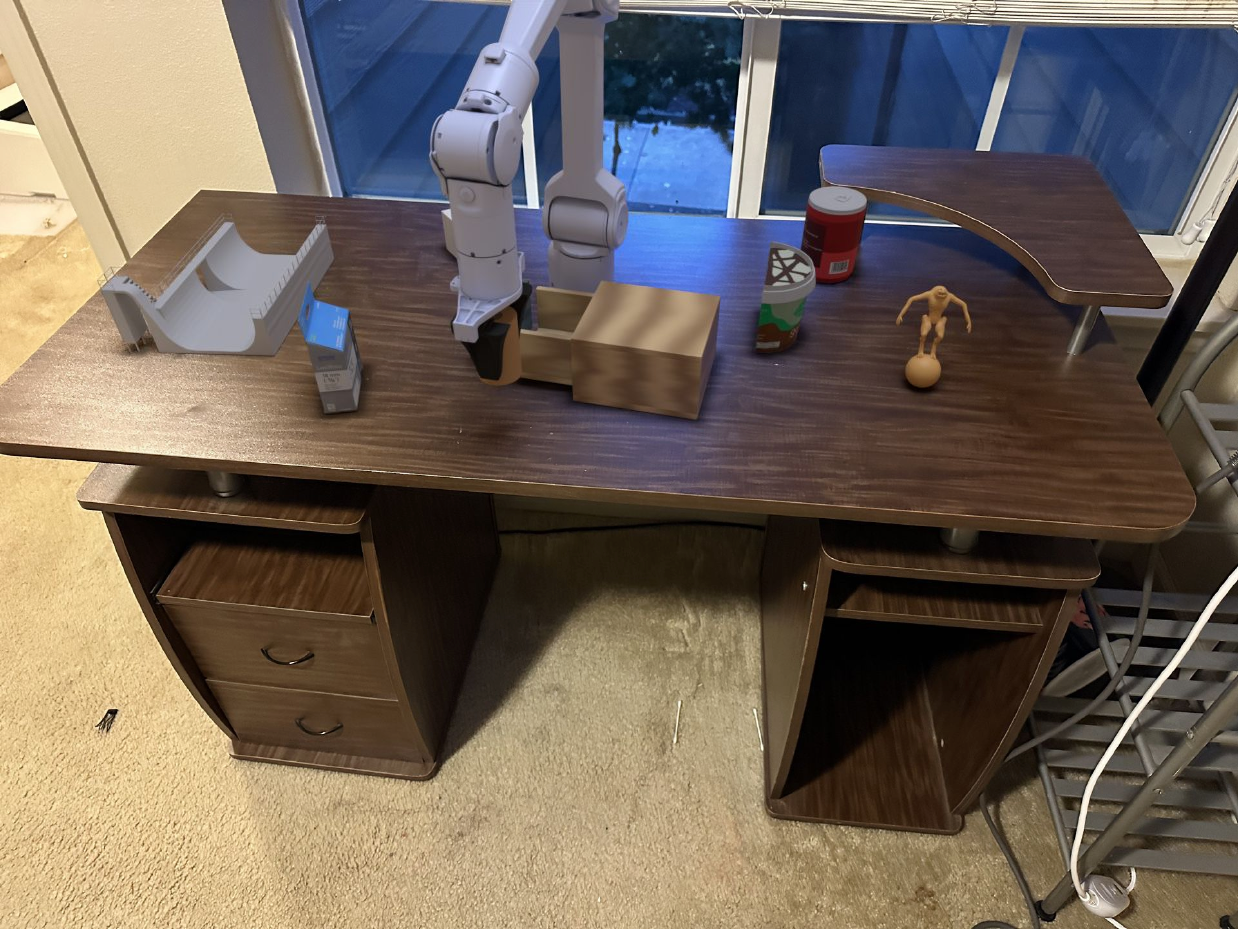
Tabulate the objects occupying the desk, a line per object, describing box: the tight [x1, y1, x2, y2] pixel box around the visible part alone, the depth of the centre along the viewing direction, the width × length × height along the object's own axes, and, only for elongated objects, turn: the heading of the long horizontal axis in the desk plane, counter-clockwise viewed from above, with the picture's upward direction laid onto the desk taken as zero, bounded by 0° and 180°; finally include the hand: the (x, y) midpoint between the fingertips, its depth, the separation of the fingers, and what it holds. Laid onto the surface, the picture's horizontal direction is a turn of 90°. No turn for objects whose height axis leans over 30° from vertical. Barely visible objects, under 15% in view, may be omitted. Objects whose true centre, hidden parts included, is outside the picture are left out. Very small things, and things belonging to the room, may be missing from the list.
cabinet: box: [571, 281, 722, 420], centre depth 100 cm, size 15×13×9 cm
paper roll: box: [477, 306, 522, 387], centre depth 88 cm, size 5×5×7 cm
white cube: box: [440, 208, 457, 259], centre depth 124 cm, size 6×6×6 cm
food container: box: [754, 241, 817, 354], centre depth 107 cm, size 12×6×10 cm, turn 168°
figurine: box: [895, 285, 972, 389], centre depth 99 cm, size 8×6×12 cm
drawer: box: [519, 278, 595, 386], centre depth 102 cm, size 18×12×7 cm
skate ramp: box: [96, 213, 335, 357], centre depth 112 cm, size 25×19×10 cm
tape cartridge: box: [297, 281, 364, 415], centre depth 97 cm, size 9×4×12 cm, turn 9°
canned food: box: [800, 185, 868, 284], centre depth 119 cm, size 8×8×11 cm
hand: (499, 363), depth 89 cm, fingers closed on paper roll, 4 cm apart
